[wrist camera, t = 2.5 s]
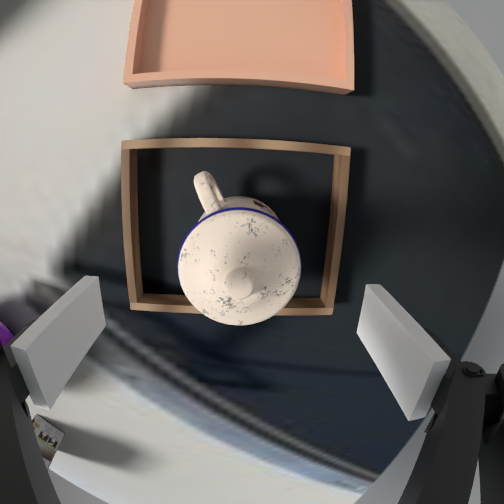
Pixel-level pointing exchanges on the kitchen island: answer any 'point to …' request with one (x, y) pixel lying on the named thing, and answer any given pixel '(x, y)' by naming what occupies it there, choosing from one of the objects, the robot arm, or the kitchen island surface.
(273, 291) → the teacup with lid
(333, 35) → the terracotta dish
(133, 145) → the walnut corral
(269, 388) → the kitchen island surface
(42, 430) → the coffee box
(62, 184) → the kitchen island surface
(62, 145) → the kitchen island surface
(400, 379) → the robot arm
